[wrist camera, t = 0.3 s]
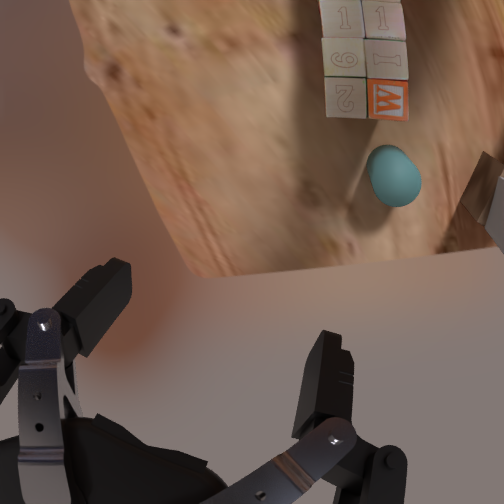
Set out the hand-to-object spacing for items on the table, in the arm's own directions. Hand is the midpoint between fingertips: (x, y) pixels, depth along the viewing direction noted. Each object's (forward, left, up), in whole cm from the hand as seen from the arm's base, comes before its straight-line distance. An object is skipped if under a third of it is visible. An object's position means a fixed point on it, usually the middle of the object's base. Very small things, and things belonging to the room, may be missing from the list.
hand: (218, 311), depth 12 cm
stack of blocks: (-17, -2, -27) cm, 32 cm away
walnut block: (-10, +23, -27) cm, 37 cm away
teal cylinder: (-4, +10, -27) cm, 29 cm away
